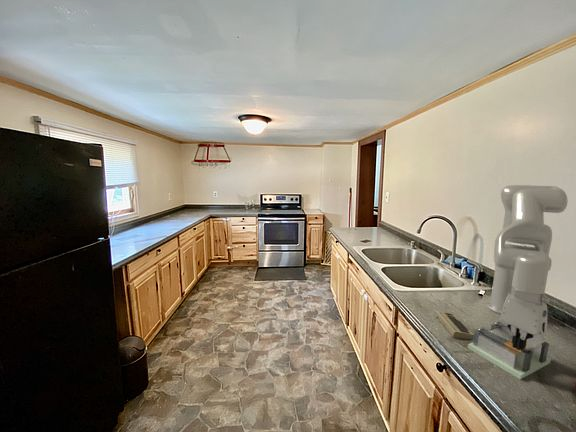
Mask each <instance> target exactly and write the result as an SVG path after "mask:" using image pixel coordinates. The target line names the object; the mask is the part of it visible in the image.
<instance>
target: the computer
mask: <svg viewBox="0 0 576 432" xmlns="http://www.w3.org/2000/svg"><path fill="white" fill-rule="evenodd" d="M434 316H435V317H436V319H438V320H439V323H441V325H442V326H443V327H444V329H445V330H446V331H447V332H448V333H449V334H450V335H451V336H452V338H453V339H463V340H465V339H467V340H473V339H474V332H473V333H472V331H471V330H470V329H469V328H468V327H467V326H466V324H465V323H464V322H463V321H462V320H461V319H459V317H458V316H457V315H456V314H455V313H453V312H450V311H448V312H447V311H442V310H436V312H435V314H434Z"/></svg>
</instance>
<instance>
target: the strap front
mask: <svg viewBox="0 0 576 432" xmlns="http://www.w3.org/2000/svg"><path fill="white" fill-rule="evenodd" d="M485 329H486V328H485ZM485 329H484V327H481V328H479V329H477V331H479V332H481V333H482V334H484V335H487V336H489V337H491V338H493V339H495V340H497V341H499V342H501V343H503V344H505V345H507V346H509V347H511V348H513V347H512V346H513V343H512V342H511V341H508V340H506V339H504V338H502V337H500V336H498V335H496V334H493V333H491V332H489V331H490V330H488V329H487V330H488V331H487V330H485ZM513 349H515V350H517V349H516V348H513ZM517 351H519V352H522V353H524V352H525V351H527V349H526V348H524V349H523V348H522V349H520V350H517Z"/></svg>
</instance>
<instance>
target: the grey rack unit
mask: <svg viewBox="0 0 576 432" xmlns="http://www.w3.org/2000/svg"><path fill="white" fill-rule="evenodd" d="M499 322H500V323H501V321H499ZM483 328H484V327H483ZM484 329H485V330H487V331H489V332H491V333H493V334H496V335H498V336H500V337H502V338H504V339H506V340H508V341H511V342H512V337H513V335H512V334H511V331H510V329H509V328H507V327H501V326H496V325H494V323H491V325H490V330H488V329H486V328H484ZM521 333H522V331H520V334H521ZM473 334H474V339H472V340H473V345H475V346H477V348H478V349H480V350H482V351H483V352H485V353H487V354H489V355H490V356H492V357H494V358H495V359H497V360H499V361H501V362H502V363H504V364H506V365H508V366H509V367H511V368H513V369H514V368H516V367H518V366H520V365H522V364H523V368H522V371H524V372H526V371H528V370H529V369H530V364H531V359H533V358H535V357H537V356H539V355H540V359H539V362H541V363H543V362H545V361H546V358H547V357H548V352H549V346H550V343H548V342H547V341H544V342H543V341H542V340H537V339H534V338H529V339H527V342H526V347H525V348H526V349H527V351H525V352H524V353H522V352H519V351H517V350H515V349H513V348H511V347H509V346H507V345H505V344H503V343H501V342H499V341H497V340H495V339H493V338H491V337H489V336H487V335H484V334H482V333H481V332H479V331H478V329H477V330H476V329H475V330H474V332H473Z"/></svg>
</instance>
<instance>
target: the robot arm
mask: <svg viewBox="0 0 576 432" xmlns="http://www.w3.org/2000/svg"><path fill="white" fill-rule="evenodd" d="M500 200H501V202H502V205H503V208H504V217H503V218H504V219H503V224H502V230H500V231H499V233H498V235H497V236H496V237H495V240H494V246H493V247H494V248H493V263H494V273H493V274H494V275H493V279H492V280H493V282H492V287H491V288H492V289H491V295H490V300H488V301H486V302H485V306H486V308H488V309H489V310H490V311H492V312H494V313H497V314H500V317H501V319H500V322H501V323H503V324H504V325H506V326H508V328H509V329H510V331H511V334H512V335H513V337H512V343H513V346H512V347H513V348H516V349H517V350H520V349H522V348H523V349H524V348H525V347H526V342H527V339H529V338H534V339H536V340H538V341H543V340H544V339H545V338H544V337H545V336H544V334H545V333H546V332H547V328H548V305H547V303H550V301H551V299H550V297H547V296H546V286H547V282H548V280H547V279H548V275H549V271H550V270H551V268H552V258H551V257H550V256H549V255H550V250H551V245H552V241H553V229H552V228H551V227H550V226H549V225H548V224H545V220H544V219H545V217H544V213H552V214H561V213H563V212H564V211H566V209H567V206H568V196H567V193H566V191H565V190H563V189H562V188H560V187H559V186H557V185H556V186H554V185H529V184H527V185H526V184H525V185H524V184H515V185H513V184H511V185H506V186H504V187H503V188H502V189H501V191H500ZM506 242H508V243H506ZM510 243H511V244H510ZM512 243H513V244H512ZM520 244H521V245H520ZM527 245H528V246H527ZM520 329H521V330H520ZM520 332H521V334H520Z"/></svg>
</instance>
